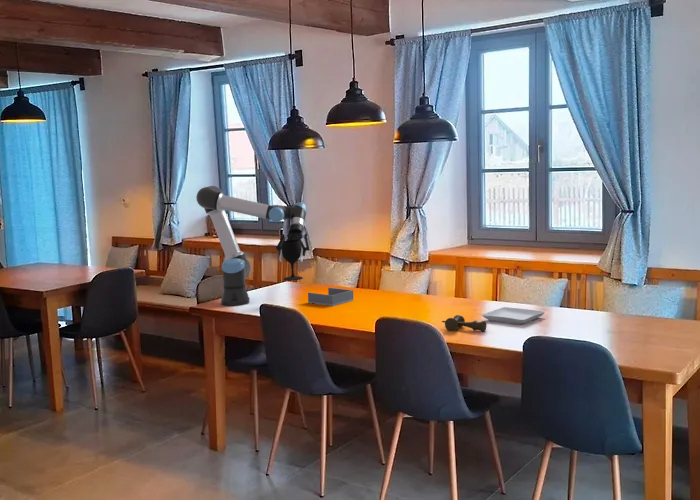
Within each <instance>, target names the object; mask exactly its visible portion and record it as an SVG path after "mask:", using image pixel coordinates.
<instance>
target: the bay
mask: <svg viewBox="0 0 700 500" xmlns="http://www.w3.org/2000/svg"><path fill="white" fill-rule="evenodd" d="M327 289H328V290H327V291H328V294H324V293H315V292H307V303H308V304H312V303H314V304H313V305H320V304H322V305H321V306H327V305H329V306H328V307H335V306H339V305H341V304H346V303H349V302H352V301H355V300H354V290H353V289H346V288H338V287H337V288H336V287H328V288H327Z"/></svg>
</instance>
